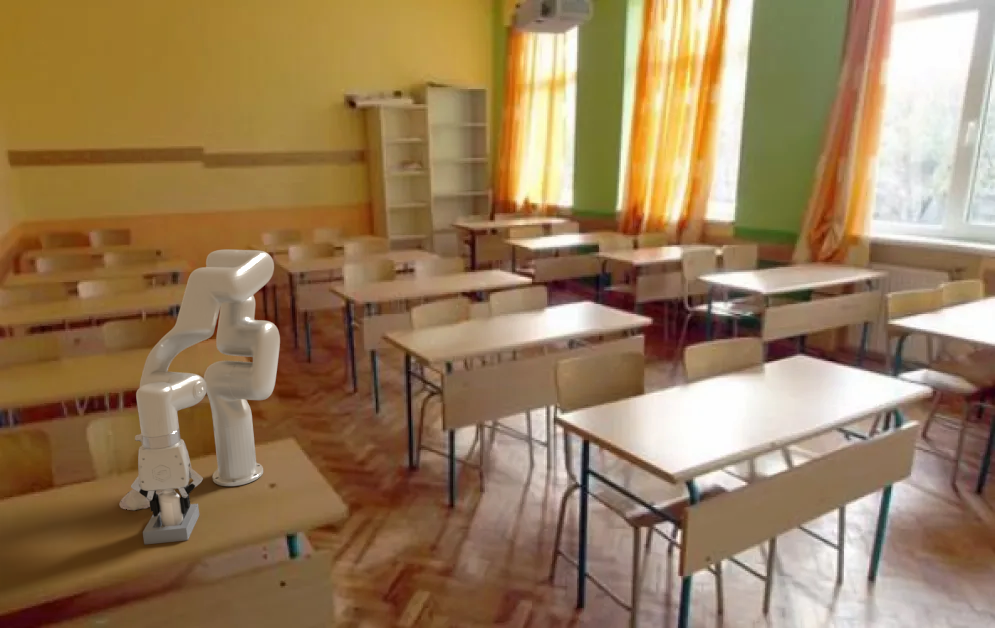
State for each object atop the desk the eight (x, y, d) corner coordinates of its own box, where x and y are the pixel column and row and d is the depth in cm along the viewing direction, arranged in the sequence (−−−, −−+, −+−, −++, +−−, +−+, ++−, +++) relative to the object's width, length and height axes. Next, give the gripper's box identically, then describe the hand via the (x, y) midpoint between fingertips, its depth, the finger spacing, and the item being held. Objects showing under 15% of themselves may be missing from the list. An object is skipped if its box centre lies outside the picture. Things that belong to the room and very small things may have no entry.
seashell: (109, 502, 166) (126, 475, 174) (114, 520, 168) (131, 492, 177) (153, 500, 166) (168, 473, 175) (158, 517, 169) (172, 490, 177)
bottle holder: (158, 518, 164) (157, 507, 163) (199, 515, 165) (198, 503, 164) (144, 544, 153) (142, 532, 152) (187, 540, 155) (186, 528, 154)
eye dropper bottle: (163, 534, 156) (156, 485, 153) (161, 522, 160) (154, 474, 157) (184, 528, 158) (178, 480, 155) (181, 517, 162) (175, 470, 160)
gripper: (113, 448, 149) (125, 524, 153) (198, 442, 152) (207, 517, 156) (125, 434, 156) (136, 507, 160) (206, 428, 159) (214, 500, 163)
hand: (171, 511), depth 158 cm, fingers closed on eye dropper bottle, 5 cm apart
